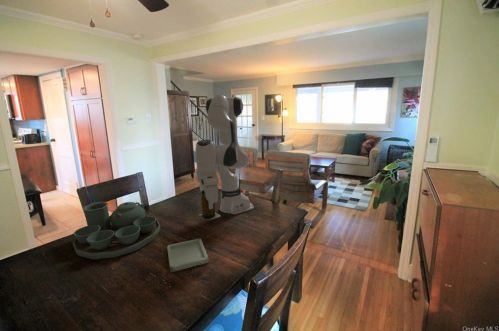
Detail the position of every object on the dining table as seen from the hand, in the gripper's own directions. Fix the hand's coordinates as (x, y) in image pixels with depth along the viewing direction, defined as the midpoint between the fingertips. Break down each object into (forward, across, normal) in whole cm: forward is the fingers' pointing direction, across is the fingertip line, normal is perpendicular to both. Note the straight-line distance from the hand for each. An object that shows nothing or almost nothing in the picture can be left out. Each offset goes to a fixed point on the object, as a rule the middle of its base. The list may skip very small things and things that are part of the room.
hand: (208, 205), depth 108 cm
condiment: (+5, +1, 0) cm, 5 cm away
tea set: (+22, -30, -41) cm, 56 cm away
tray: (+22, +2, -12) cm, 25 cm away
